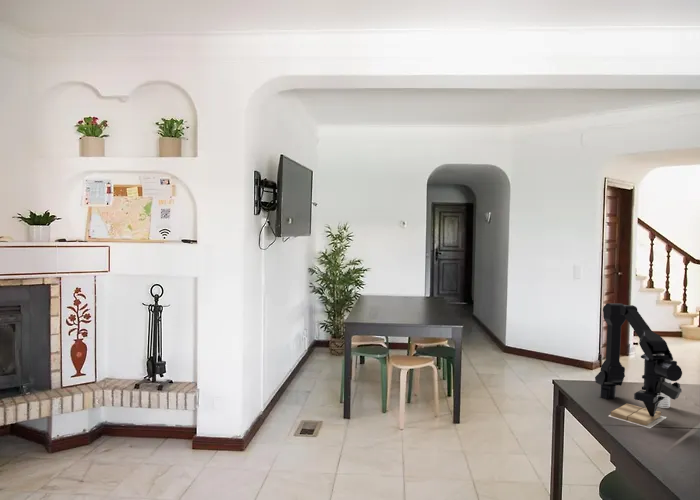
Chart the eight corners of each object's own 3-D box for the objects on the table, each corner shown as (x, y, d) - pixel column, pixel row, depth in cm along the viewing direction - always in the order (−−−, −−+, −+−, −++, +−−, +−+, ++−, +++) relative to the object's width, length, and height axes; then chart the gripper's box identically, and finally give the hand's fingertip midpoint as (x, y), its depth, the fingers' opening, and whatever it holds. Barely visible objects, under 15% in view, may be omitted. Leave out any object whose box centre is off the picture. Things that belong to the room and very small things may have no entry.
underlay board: (626, 408, 196) (626, 406, 196) (666, 420, 186) (666, 417, 186) (607, 418, 185) (608, 415, 185) (649, 431, 175) (650, 428, 175)
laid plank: (626, 407, 195) (627, 403, 195) (642, 411, 191) (642, 407, 191) (610, 415, 185) (610, 411, 185) (626, 420, 181) (626, 416, 181)
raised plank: (643, 411, 191) (643, 407, 191) (661, 415, 186) (661, 411, 186) (627, 420, 181) (627, 416, 181) (646, 425, 176) (646, 421, 176)
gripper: (670, 383, 169) (668, 429, 170) (687, 373, 181) (686, 416, 182) (634, 375, 178) (632, 419, 178) (653, 367, 190) (651, 408, 190)
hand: (652, 416), depth 182 cm, fingers closed, pressing on raised plank
